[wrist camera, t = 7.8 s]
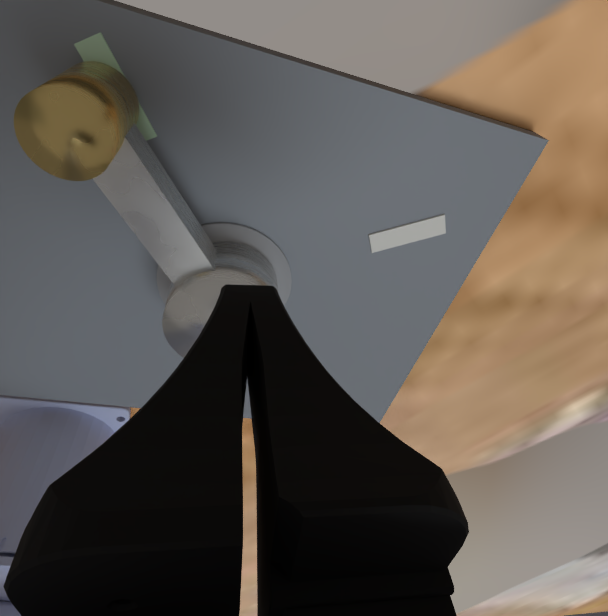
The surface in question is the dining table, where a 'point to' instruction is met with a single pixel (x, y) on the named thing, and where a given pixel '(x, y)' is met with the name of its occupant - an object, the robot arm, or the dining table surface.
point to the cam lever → (134, 189)
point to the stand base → (240, 205)
